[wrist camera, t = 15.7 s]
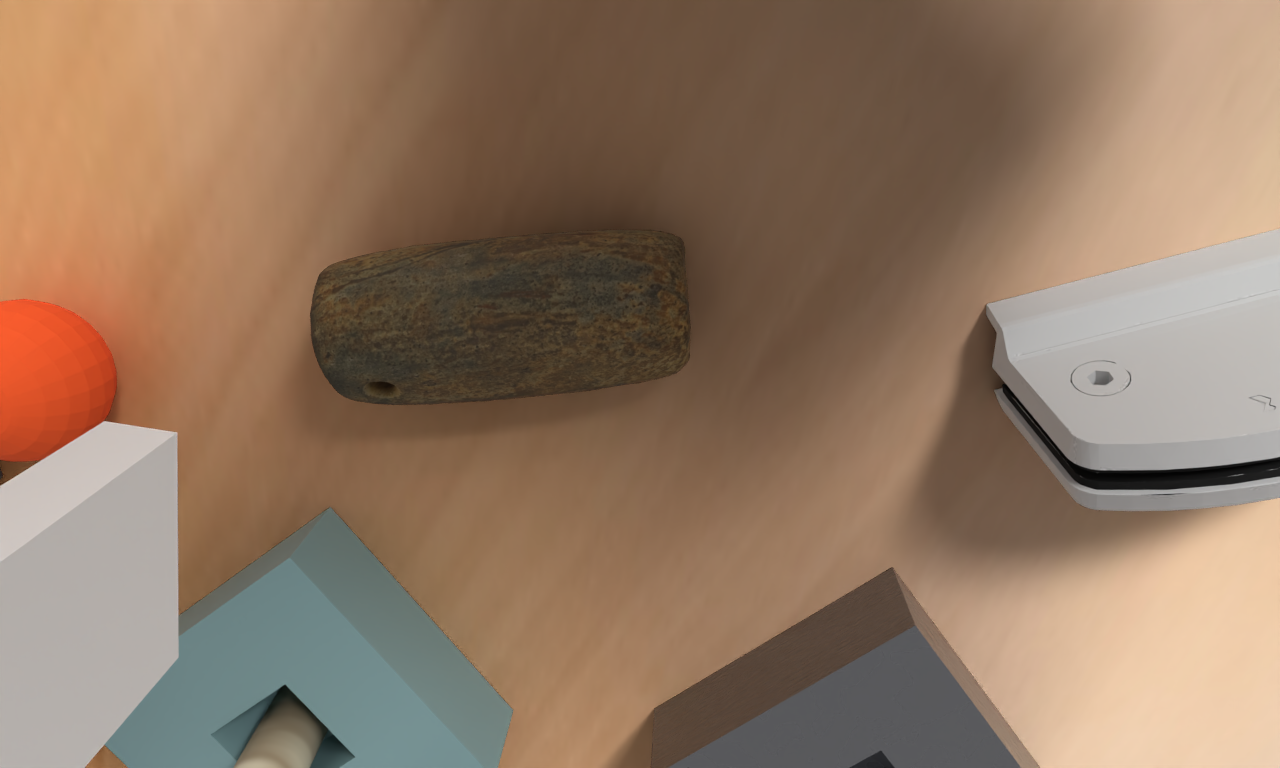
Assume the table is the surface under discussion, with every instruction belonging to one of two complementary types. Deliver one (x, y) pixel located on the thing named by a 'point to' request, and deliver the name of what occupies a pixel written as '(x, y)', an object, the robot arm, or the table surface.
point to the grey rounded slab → (1152, 379)
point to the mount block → (842, 698)
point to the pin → (284, 735)
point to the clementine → (49, 379)
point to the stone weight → (503, 317)
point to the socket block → (317, 668)
